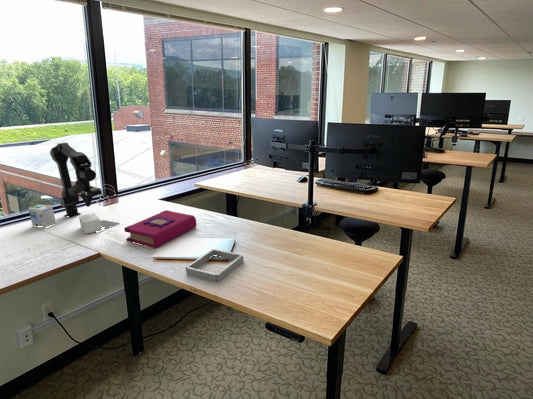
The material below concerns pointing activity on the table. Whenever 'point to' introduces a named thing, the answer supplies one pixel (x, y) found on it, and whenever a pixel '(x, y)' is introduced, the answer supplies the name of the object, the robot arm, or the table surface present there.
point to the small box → (90, 223)
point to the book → (160, 228)
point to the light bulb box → (42, 215)
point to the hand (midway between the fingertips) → (88, 206)
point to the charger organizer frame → (238, 260)
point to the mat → (107, 224)
